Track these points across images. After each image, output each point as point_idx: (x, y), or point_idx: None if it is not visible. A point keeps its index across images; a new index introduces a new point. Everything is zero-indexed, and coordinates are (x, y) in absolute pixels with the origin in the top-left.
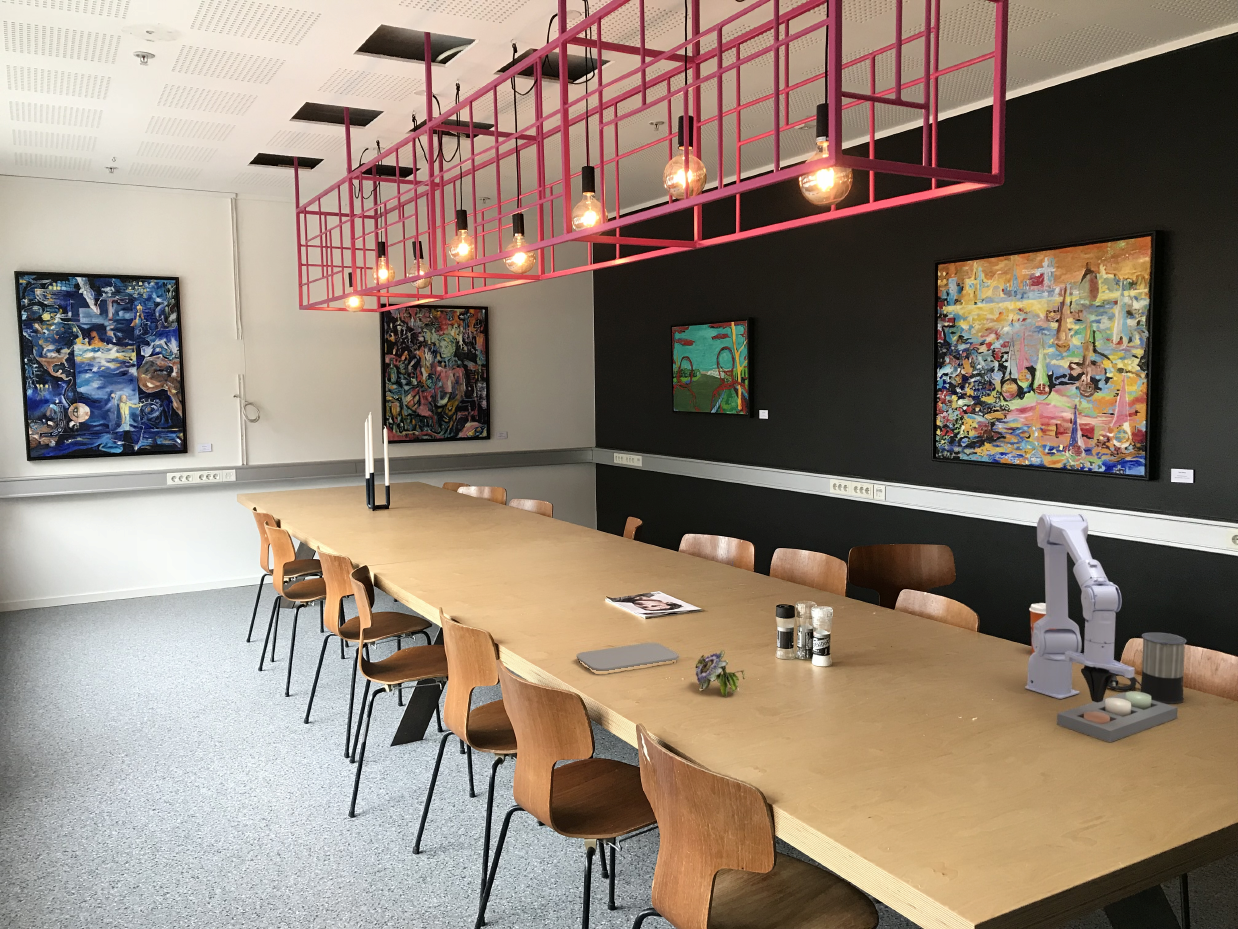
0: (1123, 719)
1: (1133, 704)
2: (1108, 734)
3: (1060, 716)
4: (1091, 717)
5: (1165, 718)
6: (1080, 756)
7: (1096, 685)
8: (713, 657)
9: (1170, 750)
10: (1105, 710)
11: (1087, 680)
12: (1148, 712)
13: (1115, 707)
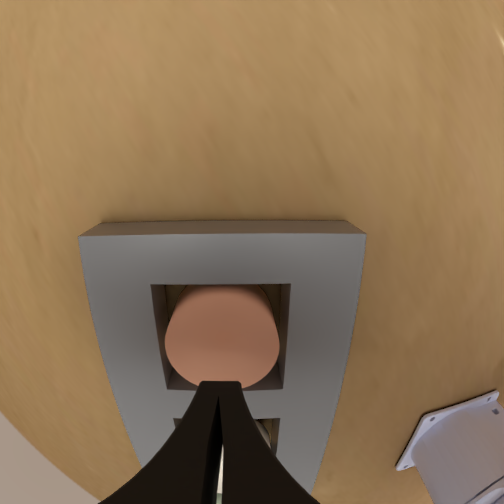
0: (152, 399)
1: None
2: (94, 231)
3: (345, 230)
4: (218, 307)
5: None
6: (92, 5)
7: (179, 463)
8: None
9: (6, 324)
10: (259, 429)
11: (271, 481)
12: None
13: None
